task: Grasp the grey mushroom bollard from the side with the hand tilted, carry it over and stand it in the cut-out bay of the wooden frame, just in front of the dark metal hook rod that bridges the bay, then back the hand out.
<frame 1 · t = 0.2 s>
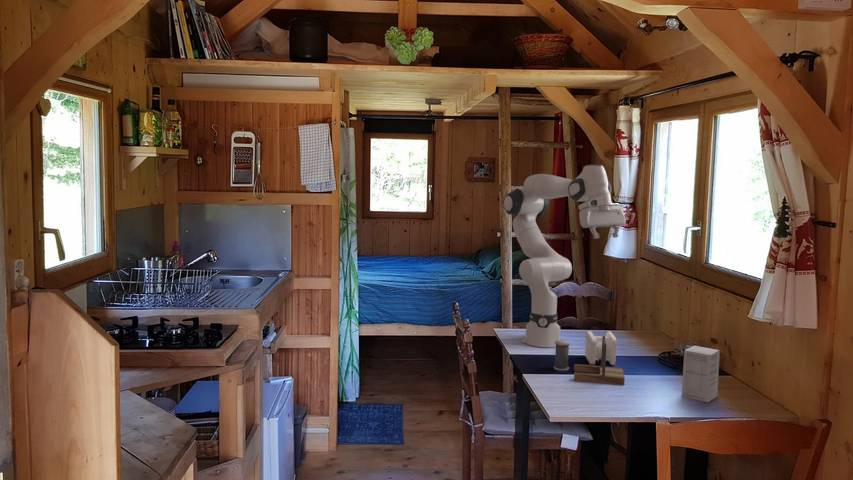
hand: (606, 237, 269), 52 cm above the table, tool tilted 20°, fingers open, 8 cm apart
supplement box: (699, 397, 241), on the table
cable organizer: (599, 362, 281), on the table
grey mushroom bollard: (561, 368, 271), on the table
wooden frame: (598, 377, 260), on the table
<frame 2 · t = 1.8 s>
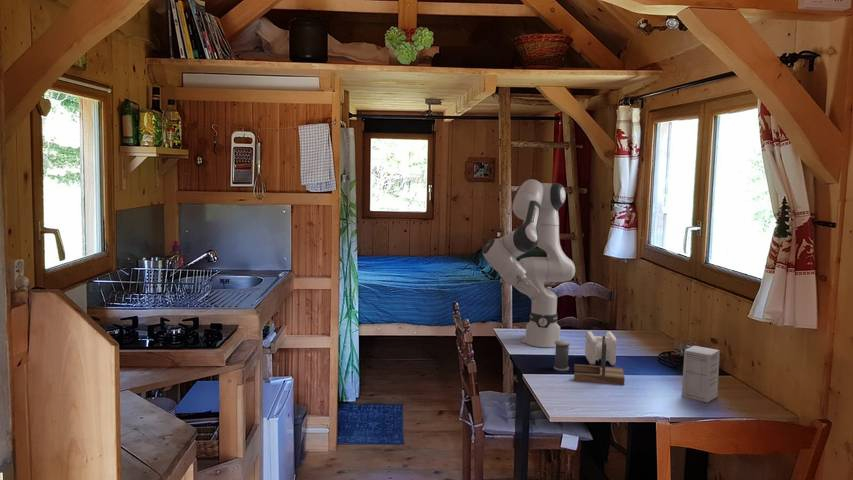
hand: (537, 301, 266), 27 cm above the table, tool tilted 45°, fingers open, 8 cm apart
nothing on the table moved.
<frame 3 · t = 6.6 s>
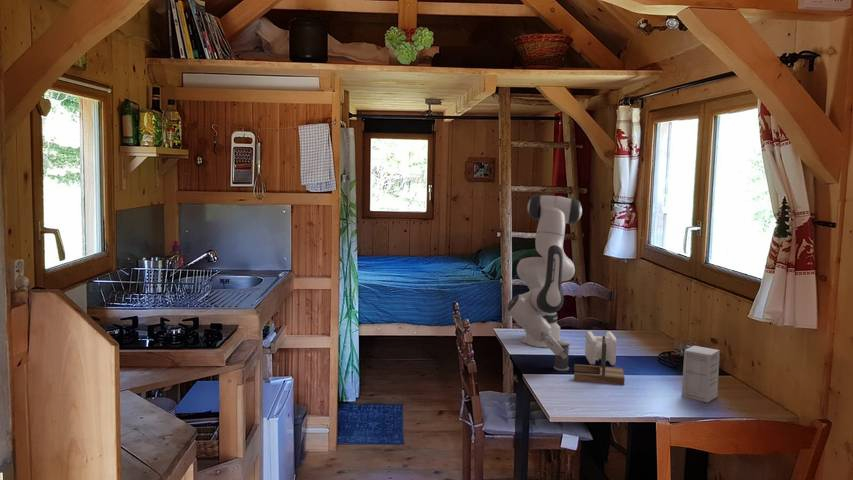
hand: (563, 355, 270), 5 cm above the table, tool tilted 45°, fingers closed on grey mushroom bollard, 5 cm apart
grey mushroom bollard: (561, 368, 271), on the table, touching gripper
everything else where it was.
when the fingers open (7 cm above the table, at t = 11.6 s): grey mushroom bollard drops 1 cm, on the table.
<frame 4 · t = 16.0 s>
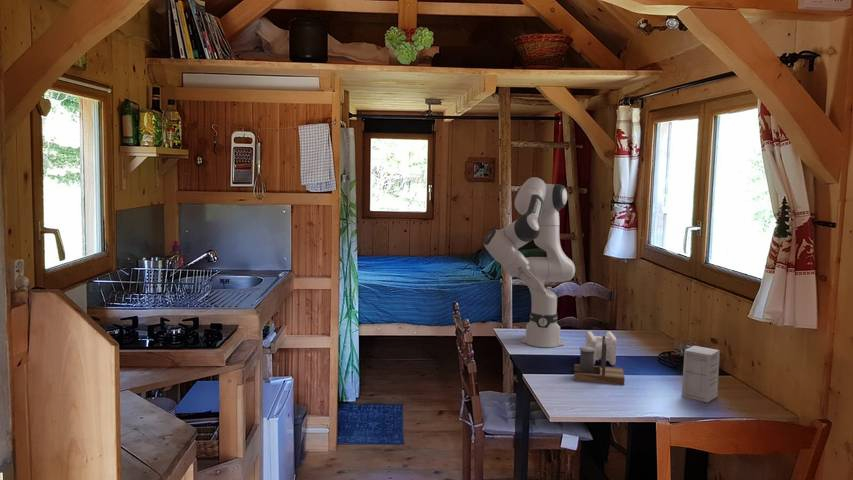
hand: (542, 292, 261), 31 cm above the table, tool tilted 45°, fingers open, 8 cm apart
grey mushroom bollard: (586, 375, 262), on the table
everything else where it was.
at the end: grey mushroom bollard inside the target area (0.6 cm from its centre), on the table; grey mushroom bollard tilted 0°; the gripper is holding nothing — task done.
